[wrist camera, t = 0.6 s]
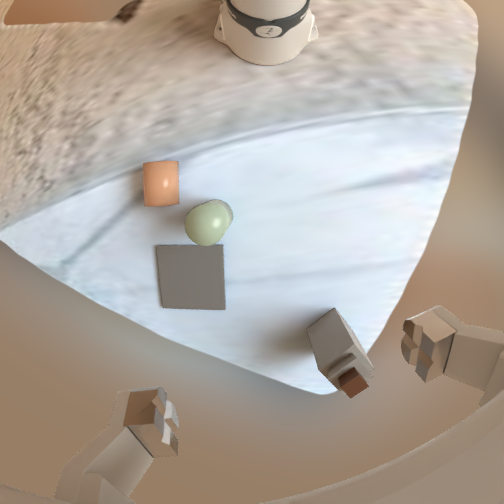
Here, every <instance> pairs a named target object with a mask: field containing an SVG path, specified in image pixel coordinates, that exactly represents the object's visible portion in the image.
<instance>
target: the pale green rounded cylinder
mask: <svg viewBox="0 0 504 504" xmlns="http://www.w3.org/2000/svg"><path fill="white" fill-rule="evenodd" d="M232 220H233V213H232V209H231V207H230V206H229V205H228V204H227V203H226V202H224V201H222V200H212V201H209V202H207V203H204V204H202V205H199V206H197V207H195V208H193V209H192V210H191V211H190V212H189V213H188V215H187V217H186V220H185V230H186V233H187V235H188V237H189V238H190V239H191V240H192V241H193V242H194V243H196V244H198V245H202V246H209V245H213V244H215V243H217V242H218V241H219V240H220V239H221V238H222V237H223V235H224V234H225V232H226V231H227V229H228V228H229V226H230V224H231V223H232Z"/></svg>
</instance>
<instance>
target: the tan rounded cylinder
mask: <svg viewBox="0 0 504 504" xmlns="http://www.w3.org/2000/svg"><path fill="white" fill-rule="evenodd" d="M143 193H144V206H166V205H175V204H179V169H178V161H157V162H148V163H143Z"/></svg>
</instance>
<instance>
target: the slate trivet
mask: <svg viewBox="0 0 504 504" xmlns="http://www.w3.org/2000/svg"><path fill="white" fill-rule="evenodd" d="M157 258H158V268H159V278H160V287H161V296H162V304H163V308H174V309H206V310H225V309H226V301H225V279H224V253H223V245H209V246H202V245H158V246H157Z"/></svg>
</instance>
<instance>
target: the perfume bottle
mask: <svg viewBox="0 0 504 504" xmlns="http://www.w3.org/2000/svg"><path fill="white" fill-rule="evenodd" d="M307 332H308V335H309V339H310V342H311V346H312V349H313V353H314V356H315V360H316V363H317V367H318V370H319V371H320V372H321V373H322V374H323V375H324V376H325V377H326V378H327V379H328V380H329V381H330V382H331V383H332V384H333V385H334V386H335V387H336V388H337V389H338V390H339V391H340V392H341V393H342V394H343V395H344V396H346V395H348V396H349V397H350V398H352V397H354V396H355V395H357V394H358V393H360V392H361V391H363V390H364V389H366V388H367V387H369V386H368V384H367V383H366V382H367V381H368V380H370V379H371V378H373V376H372V375H371V374H370V372H371V371H372V370H374V367H373V365H372V364H371V362H370V360H369V358H368V356H367V355H366V353H365V351H364V349H363V347H362V346H361V344H360V342H359V340H358V339H357V337H356V335H355V333H354V332H353V330H352V329H351V328H350V326H349V325H348V324H347V322H346V321H345V320H344V319H343V317H342V316H341V315H340V314H339V312H338V311H337V310H336V309H335V308H334V309H332V310H331V311H330V312H328V313H327V314H326V315H325V316H323V317H322V318H321V319H319V320H318V321H316V322H315V323H314V324H312V325H311V326H310V327H308V328H307Z"/></svg>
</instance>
